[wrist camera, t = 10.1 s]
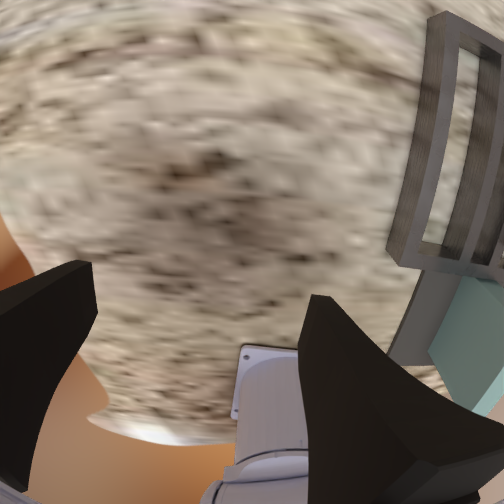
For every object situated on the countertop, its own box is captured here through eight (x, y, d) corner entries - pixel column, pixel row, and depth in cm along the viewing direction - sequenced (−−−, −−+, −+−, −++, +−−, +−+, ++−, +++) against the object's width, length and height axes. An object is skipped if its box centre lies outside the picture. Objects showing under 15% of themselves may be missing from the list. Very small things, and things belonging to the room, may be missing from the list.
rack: (508, 270, 20) (524, 285, 18) (385, 249, 20) (398, 266, 18) (550, 91, 14) (570, 94, 11) (427, 18, 13) (446, 10, 11)
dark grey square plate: (466, 361, 25) (468, 363, 24) (382, 362, 24) (383, 365, 24) (512, 271, 20) (514, 273, 20) (427, 256, 20) (429, 258, 20)
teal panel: (448, 351, 23) (485, 416, 16) (427, 351, 23) (463, 421, 16) (486, 271, 20) (544, 330, 13) (465, 268, 20) (524, 331, 13)
